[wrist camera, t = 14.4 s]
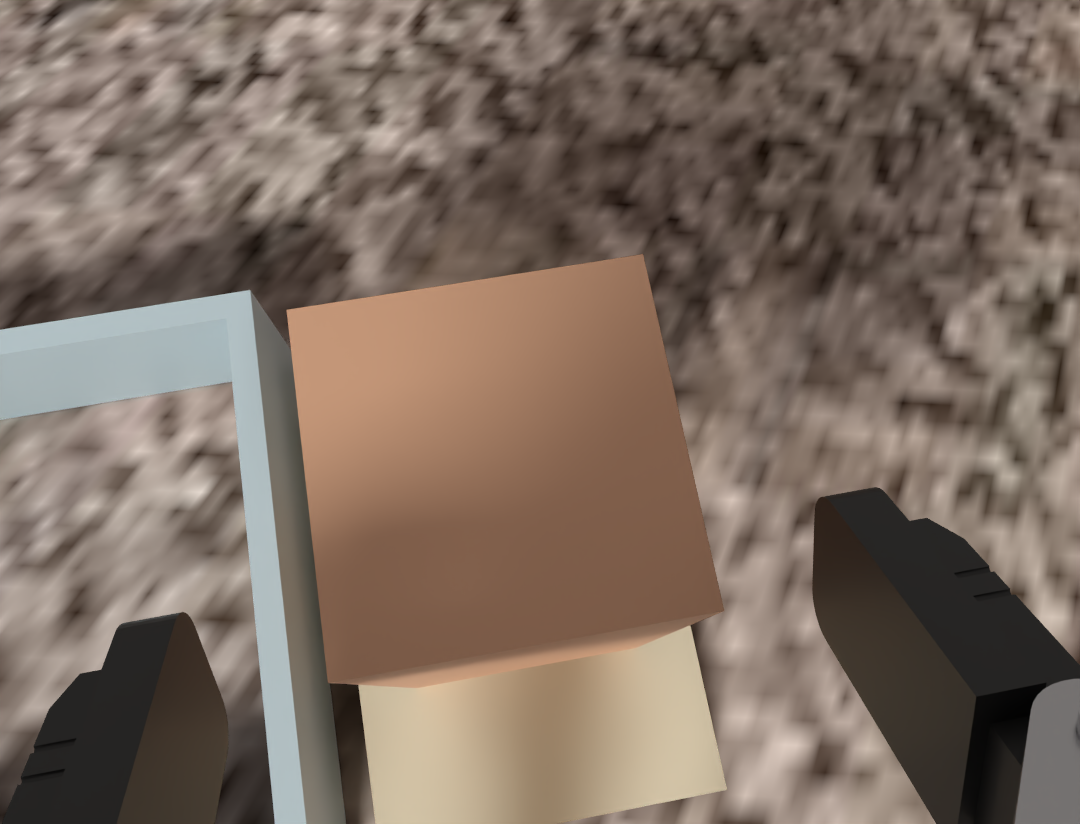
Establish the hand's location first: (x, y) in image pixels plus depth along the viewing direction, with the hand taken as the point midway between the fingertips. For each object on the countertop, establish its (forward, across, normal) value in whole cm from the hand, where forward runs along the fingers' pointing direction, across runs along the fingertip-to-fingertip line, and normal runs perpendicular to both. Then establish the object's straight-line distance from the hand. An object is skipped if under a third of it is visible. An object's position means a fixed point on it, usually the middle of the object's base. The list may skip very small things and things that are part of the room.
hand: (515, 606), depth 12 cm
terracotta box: (+8, 0, +6) cm, 10 cm away
